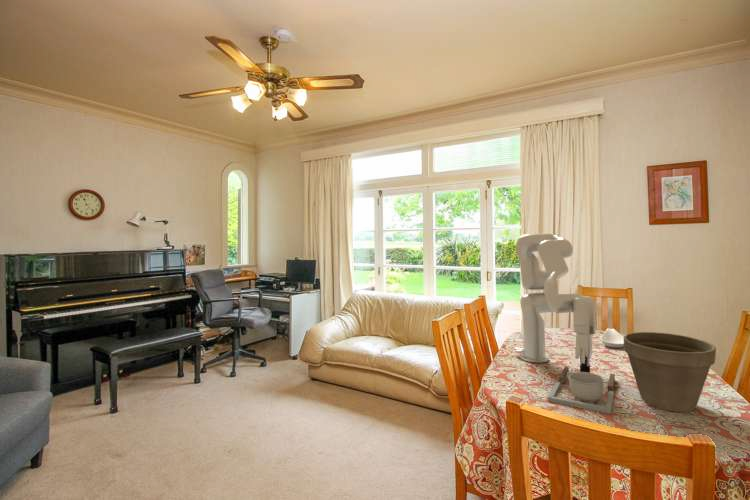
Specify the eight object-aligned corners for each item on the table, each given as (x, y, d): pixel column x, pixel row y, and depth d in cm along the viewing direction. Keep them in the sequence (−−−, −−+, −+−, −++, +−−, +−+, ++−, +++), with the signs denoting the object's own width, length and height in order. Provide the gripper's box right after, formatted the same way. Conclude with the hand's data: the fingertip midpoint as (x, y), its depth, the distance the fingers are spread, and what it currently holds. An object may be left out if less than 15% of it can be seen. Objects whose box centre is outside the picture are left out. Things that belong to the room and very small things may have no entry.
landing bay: (547, 401, 132) (547, 397, 132) (556, 385, 145) (556, 381, 145) (610, 414, 121) (610, 409, 121) (613, 395, 134) (613, 391, 134)
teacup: (610, 404, 128) (610, 381, 128) (580, 406, 127) (579, 382, 127) (586, 388, 142) (585, 368, 141) (558, 390, 141) (558, 369, 141)
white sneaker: (629, 351, 187) (629, 336, 187) (602, 348, 192) (601, 335, 192) (620, 339, 209) (620, 326, 209) (596, 337, 214) (596, 325, 214)
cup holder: (558, 383, 147) (558, 377, 147) (564, 372, 159) (564, 366, 159) (612, 393, 137) (612, 386, 137) (614, 380, 149) (614, 374, 149)
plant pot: (726, 428, 110) (725, 355, 110) (626, 410, 123) (624, 345, 123) (707, 397, 131) (706, 336, 131) (623, 384, 144) (622, 329, 144)
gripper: (576, 323, 153) (577, 368, 153) (570, 331, 141) (571, 379, 141) (597, 325, 148) (598, 371, 149) (593, 334, 136) (594, 383, 137)
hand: (585, 375), depth 145 cm, fingers closed
